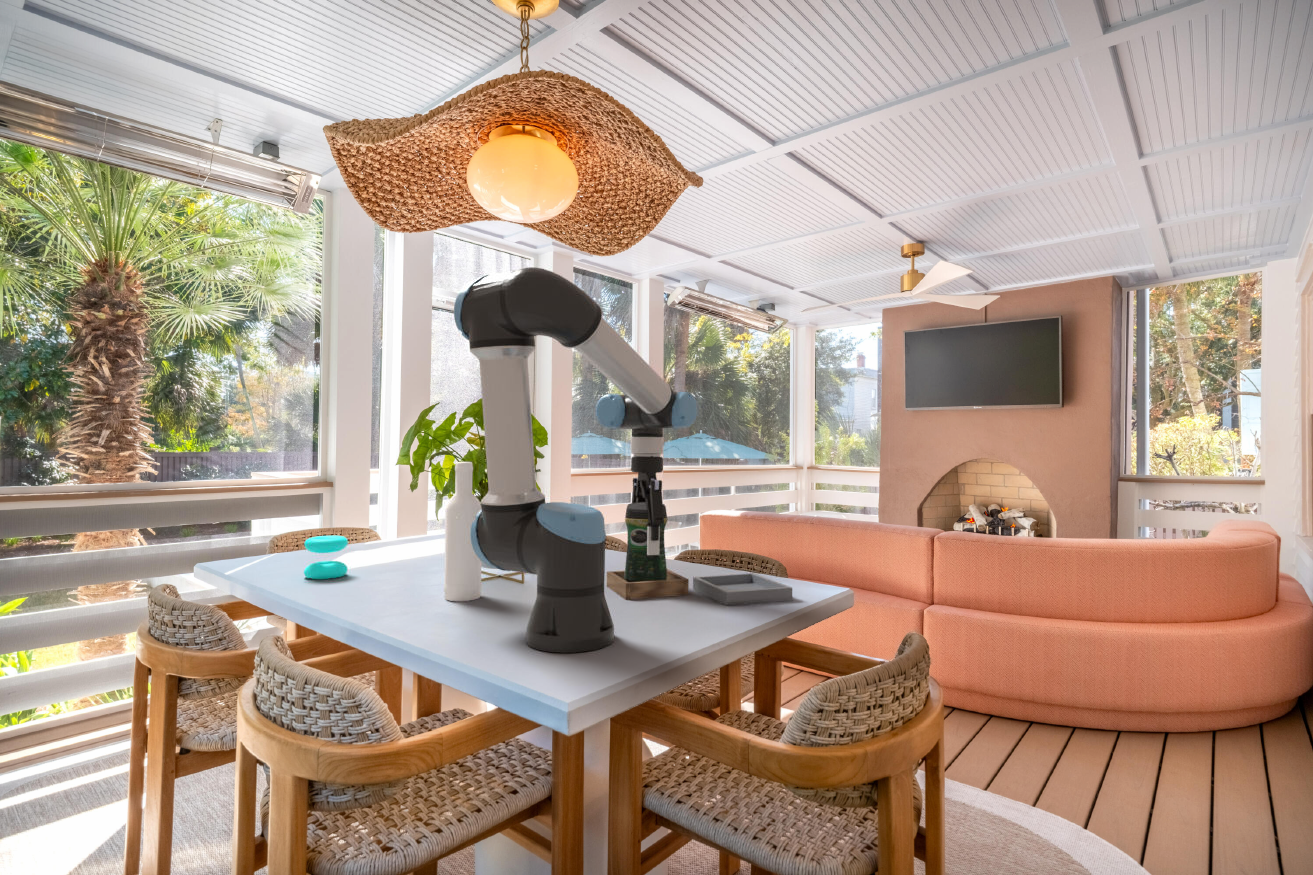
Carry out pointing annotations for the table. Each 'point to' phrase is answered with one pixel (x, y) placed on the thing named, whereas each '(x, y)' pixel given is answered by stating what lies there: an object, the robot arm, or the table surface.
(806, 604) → the table surface
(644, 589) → the walnut frame
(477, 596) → the bottle
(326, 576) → the pair of cyan pebbles
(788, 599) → the slate tray
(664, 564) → the coffee jar
